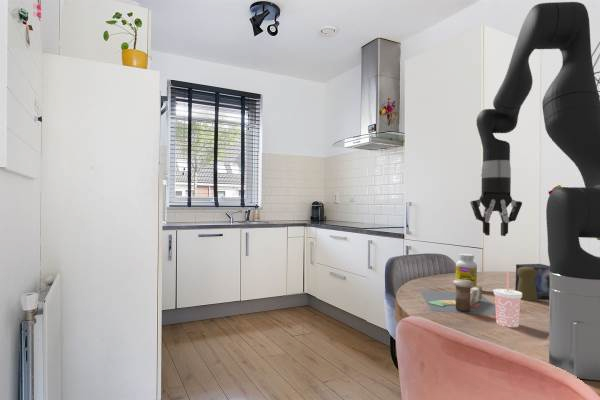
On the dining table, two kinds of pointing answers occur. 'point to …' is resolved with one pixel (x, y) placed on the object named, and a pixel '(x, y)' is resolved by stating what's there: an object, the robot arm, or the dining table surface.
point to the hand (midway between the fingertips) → (495, 235)
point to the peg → (466, 294)
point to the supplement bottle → (467, 268)
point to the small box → (538, 279)
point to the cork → (527, 283)
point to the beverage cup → (507, 306)
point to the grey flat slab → (448, 303)
